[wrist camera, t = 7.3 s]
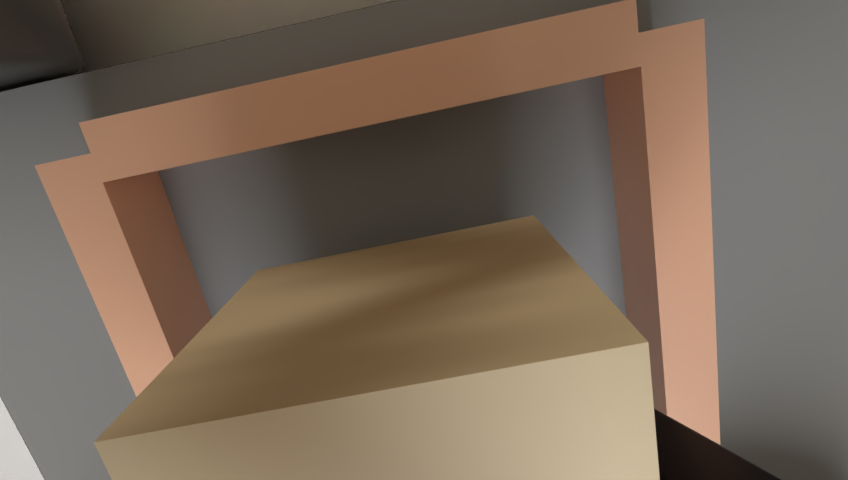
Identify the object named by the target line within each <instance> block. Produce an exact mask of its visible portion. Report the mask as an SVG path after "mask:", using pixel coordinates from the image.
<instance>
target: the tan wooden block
mask: <svg viewBox="0 0 848 480" xmlns="http://www.w3.org/2000/svg"><path fill="white" fill-rule="evenodd" d="M94 444H95V446H96V448H97V450H98V453H99V455H100V457H101V459H102V461H103V463H104V465H105V467H106V469H107V471H108V473H109V475H110V477H111V479H112V480H660V475H659V463H658V451H657V439H656V427H655V415H654V403H653V391H652V379H651V367H650V355H649V343H648V341H647V340H646V339H645V338H644V337H643V336H642V334H641V333H640V332H639V331H638V330H637V329H636V328H635V327H634V326H633V325H632V323H631V322H630V321H629V320H628V319H627V318H626V317H625V316H624V315H623V313H622V312H621V311H620V310H619V309H618V308H617V307H616V306H615V305H614V304H613V302H612V301H611V300H610V299H609V298H608V297H607V296H606V295H605V294H604V293H603V291H602V290H601V289H600V288H599V287H598V286H597V285H596V284H595V283H594V281H593V280H592V279H591V278H590V277H589V276H588V275H587V274H586V273H585V272H584V270H583V269H582V268H581V267H580V266H579V265H578V264H577V263H576V262H575V261H574V259H573V258H572V257H571V256H570V255H569V254H568V253H567V252H566V251H565V249H564V248H563V247H562V246H561V245H560V244H559V243H558V242H557V241H556V240H555V238H554V237H553V236H552V235H551V234H550V233H549V232H548V231H547V230H546V229H545V227H544V226H543V225H542V224H541V223H540V222H539V221H538V220H537V219H536V218H535V216H534V215H532V216H527V217H522V218H517V219H512V220H507V221H502V222H497V223H492V224H487V225H482V226H477V227H472V228H467V229H462V230H457V231H452V232H447V233H442V234H437V235H432V236H427V237H422V238H417V239H412V240H407V241H402V242H397V243H392V244H387V245H382V246H377V247H372V248H367V249H362V250H357V251H352V252H347V253H342V254H337V255H332V256H327V257H322V258H317V259H312V260H307V261H302V262H296V263H291V264H286V265H281V266H276V267H271V268H266V269H261V270H257V272H256V273H255V274H254V275H253V276H252V277H251V278H250V279H249V280H248V281H247V282H246V283H245V284H244V285H243V286H242V287H241V288H240V289H239V290H238V291H237V293H236V294H235V295H234V296H233V297H232V298H231V299H230V300H229V301H228V302H227V303H226V304H225V305H224V306H223V307H222V308H221V309H220V310H219V311H218V312H217V314H216V315H215V316H214V317H213V318H212V319H211V320H210V321H209V322H208V323H207V324H206V325H205V326H204V327H203V328H202V329H201V330H200V331H199V332H198V333H197V335H196V336H195V337H194V338H193V339H192V340H191V341H190V342H189V343H188V344H187V345H186V346H185V347H184V348H183V349H182V350H181V351H180V352H179V353H178V354H177V355H176V357H175V358H174V359H173V360H172V361H171V362H170V363H169V364H168V365H167V366H166V367H165V368H164V369H163V370H162V371H161V372H160V373H159V374H158V375H157V376H156V378H155V379H154V380H153V381H152V382H151V383H150V384H149V385H148V386H147V387H146V388H145V389H144V390H143V391H142V392H141V393H140V394H139V395H138V396H137V397H136V399H135V400H134V401H133V402H132V403H131V404H130V405H129V406H128V407H127V408H126V409H125V410H124V411H123V412H122V413H121V414H120V415H119V416H118V417H117V418H116V420H115V421H114V422H113V423H112V424H111V425H110V426H109V427H108V428H107V429H106V430H105V431H104V432H103V433H102V434H101V435H100V436H99V437H98V438H97V439H96V441H95V442H94Z"/></svg>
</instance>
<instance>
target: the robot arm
mask: <svg viewBox="0 0 848 480" xmlns="http://www.w3.org/2000/svg"><path fill="white" fill-rule="evenodd" d="M654 415H655V427H656V439H657V451H658V463H659V475H660V480H782V479H780V478H778V477H777V476H775V475H773V474H771V473H769V472H768V471H766V470H764V469H762V468H761V467H759V466H757V465H755V464H753V463H752V462H750V461H748V460H746V459H744V458H743V457H741V456H739V455H737V454H735V453H734V452H732V451H730V450H728V449H727V448H725V447H723V446H721V445H719V444H718V443H716V442H714V441H712V440H710V439H709V438H707V437H705V436H703V435H701V434H700V433H698V432H696V431H694V430H692V429H691V428H689V427H687V426H685V425H684V424H682V423H680V422H678V421H676V420H675V419H673V418H671V417H669V416H667V415H666V414H664V413H662V412H660V411H658V410H657V409H655V408H654Z"/></svg>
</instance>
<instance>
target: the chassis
mask: <svg viewBox="0 0 848 480" xmlns="http://www.w3.org/2000/svg"><path fill="white" fill-rule="evenodd" d="M83 66H84V61H83V58H82V56H81V53H80V51H79V48H78V46H77V43H76V40H75V38H74V35H73V33H72V30H71V27H70V25H69V22H68V20H67V17H66V15H65V12H64V9H63V7H62V4H61V2H60V0H0V397H1V399H2V401H3V403H4V405H5V407H6V408H7V410H8V412H9V414H10V416H11V418H12V420H13V421H14V423H15V425H16V427H17V429H18V431H19V433H20V435H21V436H22V438H23V440H24V442H25V444H26V446H27V448H28V449H29V451H30V453H31V455H32V457H33V459H34V461H35V463H36V464H37V466H38V468H39V470H40V472H41V474H42V476H43V478H44V479H45V480H112V479H111V477H110V475H109V473H108V471H107V469H106V467H105V465H104V463H103V461H102V459H101V457H100V455H99V453H98V450H97V448H96V446H95V444H94V442H95V441H96V439H97V438H98V437H99V436H100V435H101V434H102V433H103V432H104V431H105V430H106V429H107V428H108V427H109V426H110V425H111V424H112V423H113V422H114V421H115V420H116V418H117V417H118V416H119V415H120V414H121V413H122V412H123V411H124V410H125V409H126V408H127V407H128V406H129V405H130V404H131V403H132V402H133V401H134V400H135V399H136V397H137V396H138V395H139V394H140V393H141V392H142V391H143V390H144V389H145V388H146V387H147V386H148V385H149V384H150V383H151V382H152V381H153V380H154V379H155V378H156V376H157V375H158V374H159V373H160V372H161V371H162V370H163V369H164V368H165V367H166V366H167V365H168V364H169V363H170V362H171V361H172V360H173V359H174V358H175V357H176V355H177V354H178V353H179V352H180V351H181V350H182V349H183V348H184V347H185V346H186V345H187V344H188V343H189V342H190V341H191V340H192V339H193V338H194V337H195V336H196V335H197V333H198V332H199V331H200V330H201V329H202V328H203V327H204V326H205V325H206V324H207V323H208V322H209V321H210V320H211V319H212V318H213V317H214V316H215V315H216V314H217V312H218V311H219V310H220V309H221V308H222V307H223V306H224V305H225V304H226V303H227V302H228V301H229V300H230V299H231V298H232V297H233V296H234V295H235V294H236V293H237V291H238V290H239V289H240V288H241V287H242V286H243V285H244V284H245V283H246V282H247V281H248V280H249V279H250V278H251V277H252V276H253V275H254V274H255V273H256V272H257V270H261V269H266V268H271V267H276V266H281V265H286V264H291V263H296V262H302V261H307V260H312V259H317V258H322V257H327V256H332V255H337V254H342V253H347V252H352V251H357V250H362V249H367V248H372V247H377V246H382V245H387V244H392V243H397V242H402V241H407V240H412V239H417V238H422V237H427V236H432V235H437V234H442V233H447V232H452V231H457V230H462V229H467V228H472V227H477V226H482V225H487V224H492V223H497V222H502V221H507V220H512V219H517V218H522V217H527V216H532V215H534V216H535V218H536V219H537V220H538V221H539V222H540V223H541V224H542V225H543V226H544V227H545V229H546V230H547V231H548V232H549V233H550V234H551V235H552V236H553V237H554V238H555V240H556V241H557V242H558V243H559V244H560V245H561V246H562V247H563V248H564V249H565V251H566V252H567V253H568V254H569V255H570V256H571V257H572V258H573V259H574V261H575V262H576V263H577V264H578V265H579V266H580V267H581V268H582V269H583V270H584V272H585V273H586V274H587V275H588V276H589V277H590V278H591V279H592V280H593V281H594V283H595V284H596V285H597V286H598V287H599V288H600V289H601V290H602V291H603V293H604V294H605V295H606V296H607V297H608V298H609V299H610V300H611V301H612V302H613V304H614V305H615V306H616V307H617V308H618V309H619V310H620V311H621V312H622V313H623V315H624V316H625V317H626V318H627V319H628V320H629V321H630V322H631V323H632V325H633V326H634V327H635V328H636V329H637V330H638V331H639V332H640V333H641V334H642V336H643V337H644V338H645V339H646V340H647V341H648V343H649V355H650V367H651V379H652V391H653V403H654V408H655V409H657V410H658V411H660V412H662V413H664V414H666V415H667V416H669V417H671V418H673V419H675V420H676V421H678V422H680V423H682V424H684V425H685V426H687V427H689V428H691V429H692V430H694V431H696V432H698V433H700V434H701V435H703V436H705V437H707V438H709V439H710V440H712V441H714V442H716V443H718V444H719V445H721V446H723V447H725V448H727V449H728V450H730V451H732V452H734V453H735V454H737V455H739V456H741V457H743V458H744V459H746V460H748V461H750V462H752V463H753V464H755V465H757V466H759V467H761V468H762V469H764V470H766V471H768V472H769V473H771V474H773V475H775V476H777V477H778V478H780V479H782V480H848V0H397V1H393V2H389V3H384V4H380V5H376V6H371V7H367V8H363V9H358V10H354V11H350V12H345V13H341V14H337V15H332V16H328V17H323V18H319V19H315V20H310V21H306V22H302V23H297V24H293V25H289V26H284V27H280V28H276V29H271V30H267V31H263V32H258V33H254V34H250V35H245V36H241V37H237V38H232V39H228V40H224V41H219V42H215V43H211V44H206V45H202V46H198V47H193V48H189V49H185V50H180V51H176V52H172V53H167V54H163V55H159V56H154V57H150V58H146V59H141V60H137V61H133V62H128V63H124V64H120V65H115V66H111V67H107V68H102V69H98V70H94V71H89V72H85V73H81V74H76V75H72V74H74V73H76V72H78V71H79V70H80V69H82V68H83ZM69 75H72V76H69Z"/></svg>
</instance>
